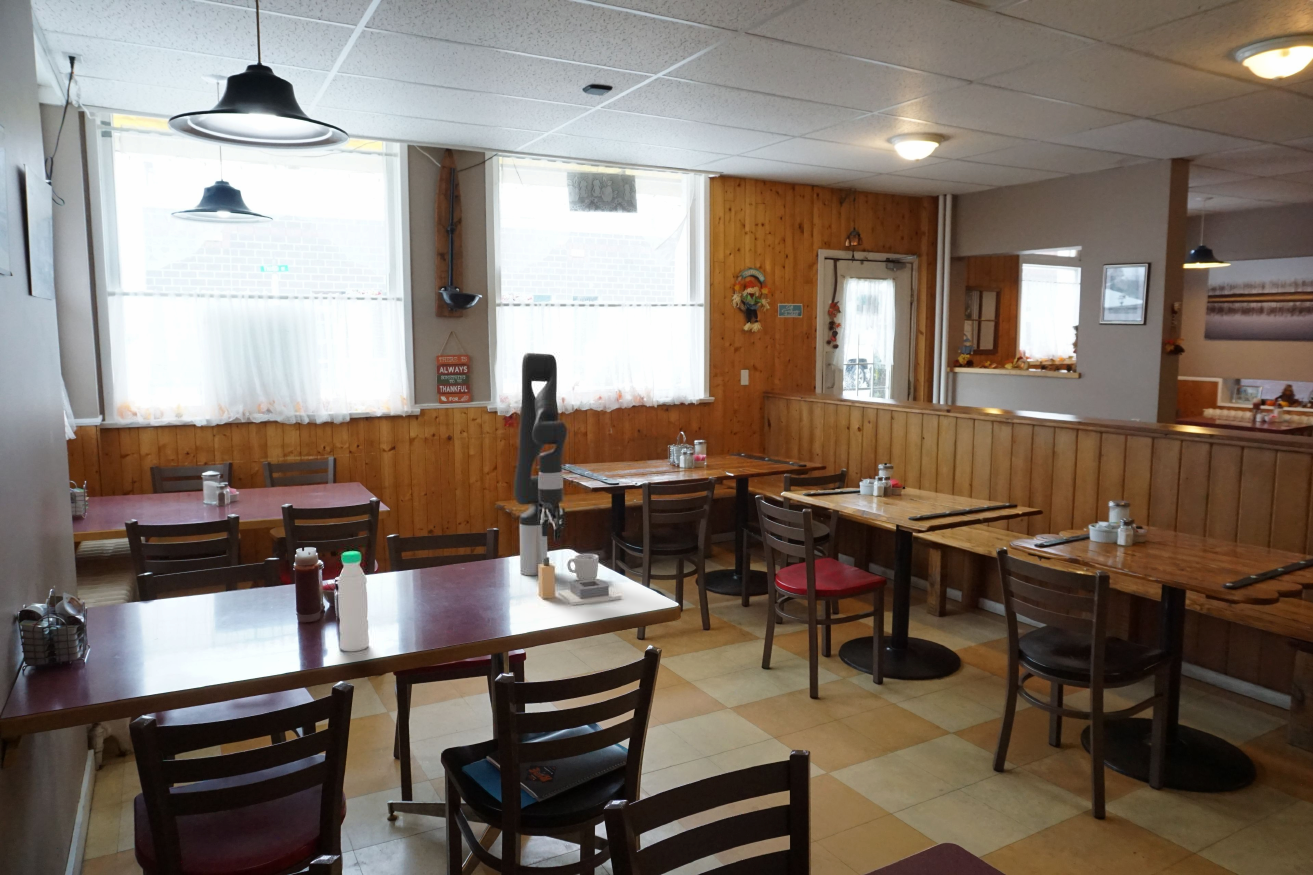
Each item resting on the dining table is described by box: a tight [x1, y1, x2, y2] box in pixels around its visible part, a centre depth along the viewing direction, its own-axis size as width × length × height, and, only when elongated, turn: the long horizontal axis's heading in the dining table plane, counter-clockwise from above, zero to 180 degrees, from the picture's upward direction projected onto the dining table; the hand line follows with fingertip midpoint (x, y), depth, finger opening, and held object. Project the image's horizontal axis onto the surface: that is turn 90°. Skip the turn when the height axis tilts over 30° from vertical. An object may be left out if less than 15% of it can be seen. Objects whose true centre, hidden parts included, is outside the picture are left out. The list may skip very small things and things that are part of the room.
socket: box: [557, 578, 622, 606], centre depth 269 cm, size 13×16×4 cm
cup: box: [567, 553, 599, 581], centre depth 289 cm, size 11×8×8 cm
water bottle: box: [337, 550, 370, 653], centre depth 222 cm, size 7×7×25 cm
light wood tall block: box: [537, 556, 556, 600], centre depth 269 cm, size 4×4×12 cm
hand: (551, 538), depth 267 cm, fingers open, 8 cm apart
